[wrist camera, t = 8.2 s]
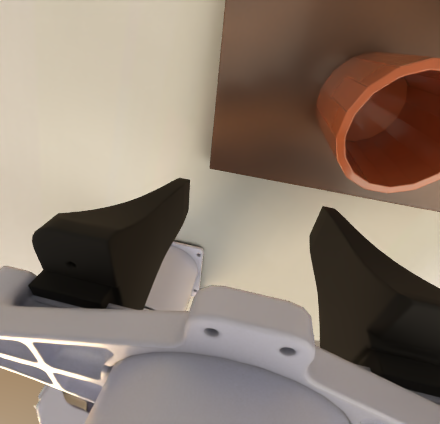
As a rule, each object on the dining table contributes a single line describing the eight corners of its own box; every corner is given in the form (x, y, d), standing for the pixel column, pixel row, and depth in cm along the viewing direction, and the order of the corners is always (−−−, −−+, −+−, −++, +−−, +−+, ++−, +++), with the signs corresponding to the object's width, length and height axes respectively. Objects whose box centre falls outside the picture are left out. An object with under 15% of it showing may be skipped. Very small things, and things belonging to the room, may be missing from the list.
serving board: (437, 203, 21) (447, 213, 20) (212, 162, 23) (209, 168, 22) (605, -14, 13) (638, -19, 12) (234, -53, 15) (231, -62, 13)
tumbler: (382, 148, 18) (435, 202, 12) (305, 135, 19) (318, 181, 13) (429, 59, 15) (536, 71, 9) (333, 46, 15) (371, 48, 9)
